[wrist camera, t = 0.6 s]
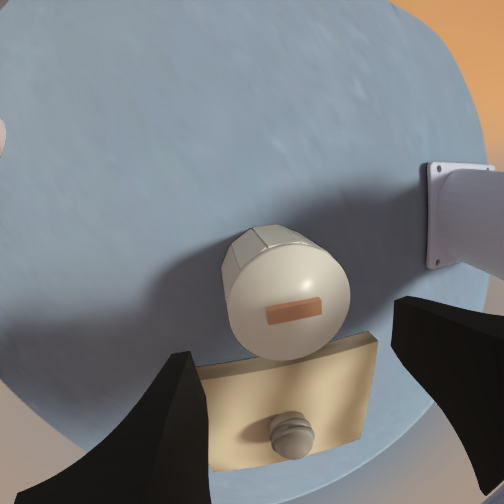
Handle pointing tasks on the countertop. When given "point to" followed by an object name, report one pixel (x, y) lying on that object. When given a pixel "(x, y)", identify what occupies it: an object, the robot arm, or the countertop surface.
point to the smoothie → (2, 136)
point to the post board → (288, 403)
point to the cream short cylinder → (283, 293)
